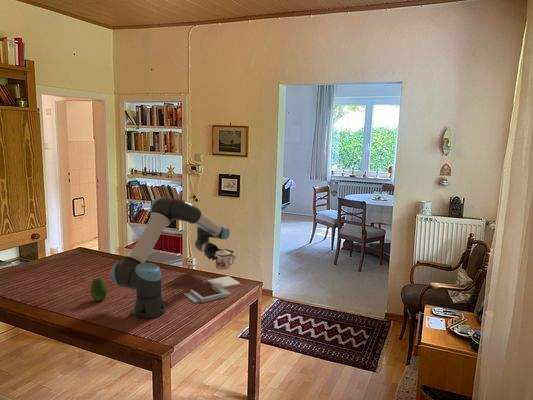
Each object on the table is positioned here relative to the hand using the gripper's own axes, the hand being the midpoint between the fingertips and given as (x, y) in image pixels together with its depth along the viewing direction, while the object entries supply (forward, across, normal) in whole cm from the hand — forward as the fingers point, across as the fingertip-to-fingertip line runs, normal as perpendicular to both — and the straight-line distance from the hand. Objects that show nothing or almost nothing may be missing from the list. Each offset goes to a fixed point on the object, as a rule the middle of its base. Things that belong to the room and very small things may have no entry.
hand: (227, 258), depth 231 cm
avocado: (-16, +67, -16) cm, 71 cm away
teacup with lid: (-4, -1, -7) cm, 9 cm away
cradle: (+7, +16, -16) cm, 24 cm away
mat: (-4, 0, -16) cm, 17 cm away
